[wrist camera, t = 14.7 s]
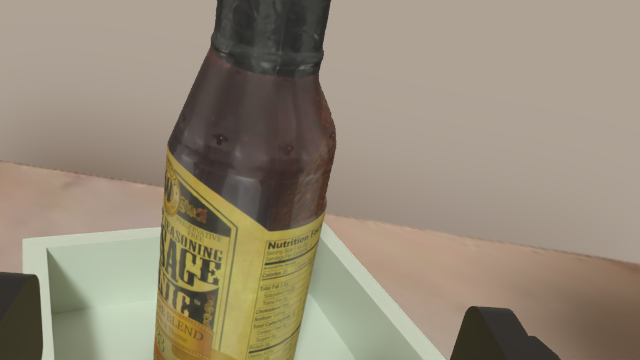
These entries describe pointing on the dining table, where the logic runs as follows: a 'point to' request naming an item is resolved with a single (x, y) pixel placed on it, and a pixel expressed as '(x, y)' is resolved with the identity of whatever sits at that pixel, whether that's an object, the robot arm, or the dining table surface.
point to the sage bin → (141, 300)
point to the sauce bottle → (246, 187)
